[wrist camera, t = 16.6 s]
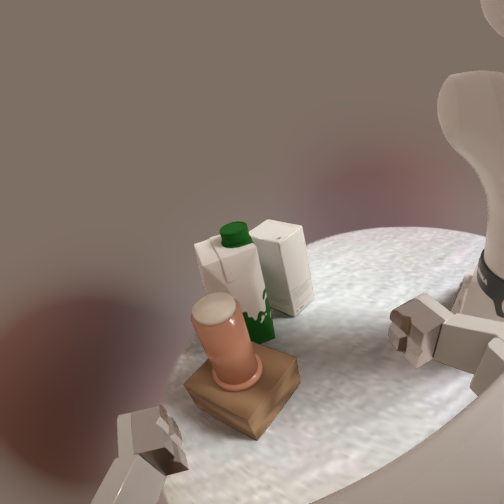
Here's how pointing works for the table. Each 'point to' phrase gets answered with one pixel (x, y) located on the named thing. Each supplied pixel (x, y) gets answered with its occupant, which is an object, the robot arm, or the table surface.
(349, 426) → the table surface
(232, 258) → the milk carton
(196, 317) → the canister
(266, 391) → the block
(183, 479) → the table surface
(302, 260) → the skincare box
